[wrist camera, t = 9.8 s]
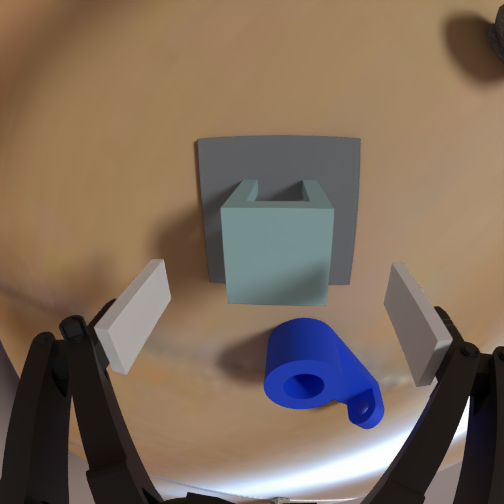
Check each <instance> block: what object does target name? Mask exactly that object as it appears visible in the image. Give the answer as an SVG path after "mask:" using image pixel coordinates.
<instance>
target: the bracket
mask: <svg viewBox="0 0 504 504" xmlns="http://www.w3.org/2000/svg"><path fill="white" fill-rule="evenodd" d="M264 391H265V393H266V395H267V396H268V398H269V399H271V400H272V401H273V402H275V403H276V404H278V405H281V406H283V407H287V408H292V409H310V408H315V407H319V406H322V405H324V404H326V403H328V402H330V401H332V400H333V399H334V400H337V401H339V402H341V403H344V404H346V405H347V408H348V416H349V420H350V421H351V422H352V423H354V424H356V425H357V426H359V427H361V428H364V429H370V428H373V427H374V426H376V425H377V424H378V423H379V422H380V421H381V419H382V417H383V415H384V405H383V401H382V397H381V393H380V389H379V385H378V382H377V381H376V380H375V379H374V378H373V376H372V375H371V374H370V373H369V372H368V370H367V369H366V368H365V367H364V366H363V365H362V363H361V362H360V361H359V360H358V359H357V358H356V356H355V355H354V354H353V353H352V352H351V351H350V349H349V348H348V347H347V346H346V345H345V344H344V342H343V341H342V340H341V339H340V338H339V337H338V335H337V334H336V333H335V332H334V331H333V330H332V329H331V327H329V326H328V325H327V324H325V323H324V322H322V321H319V320H316V319H311V318H298V319H293V320H289V321H287V322H285V323H283V324H281V325H279V326H278V327H277V328H276V329H275V330H274V331H273V332H272V334H271V335H270V338H269V341H268V351H267V360H266V370H265V379H264ZM367 408H368V409H367ZM366 409H367V411H366V412H365V410H366ZM364 412H365V413H364Z"/></svg>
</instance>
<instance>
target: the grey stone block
mask: <svg viewBox="0 0 504 504" xmlns="http://www.w3.org/2000/svg"><path fill="white" fill-rule="evenodd" d="M282 503H290V499H288V498H281V497H277V498H274V499H271V501H270V504H282Z"/></svg>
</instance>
